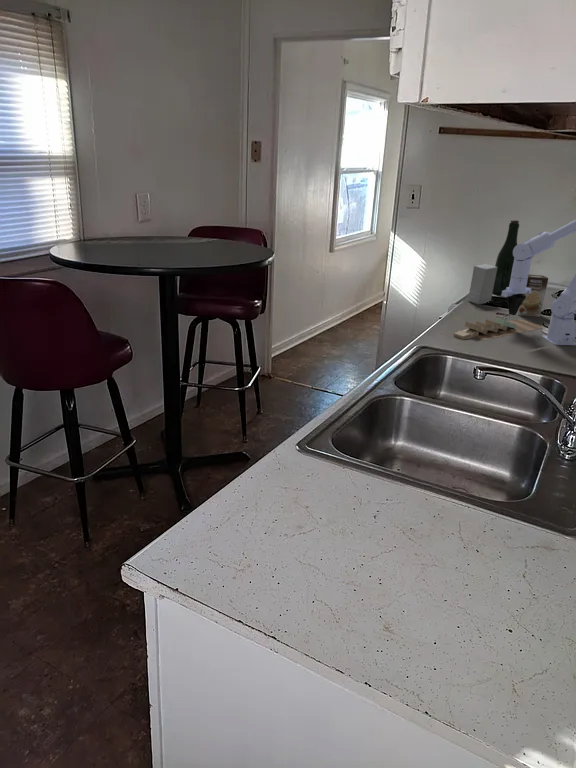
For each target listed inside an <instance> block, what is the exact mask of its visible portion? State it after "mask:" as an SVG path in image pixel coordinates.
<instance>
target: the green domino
mask: <svg viewBox="0 0 576 768" xmlns="http://www.w3.org/2000/svg"><path fill="white" fill-rule="evenodd" d="M493 322H496V323H499V324H502V325H505V326H508V327H510V328H514V329H515V328H516V324H513V323H510V322H507V320H504V319H501V318H497V317H495V318H494V321H493Z"/></svg>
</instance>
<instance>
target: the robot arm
mask: <svg viewBox="0 0 576 768" xmlns="http://www.w3.org/2000/svg"><path fill="white" fill-rule="evenodd" d="M574 233H576V219H574V220H572V221H570V222H568V223H567V224H565V225H563V226H562V227H559V228H558V229H556V230H554V231H552V232H549V231H540V232H538V233H537V235H536V236H534V237H532V238H527V239H525V242H524V243H523V242H519V243H517V246H515V247H514V249H513V256H514V263H513V268H512V274H511V279H510V284H509V287H507V288H506V290H504V291H502V294H501V295H500V296H501V297H503V298H504V297H505V299H506V301H507V307H508V315H510V316H516V313H517V311H518V309H519V307H520V305H521V304H522V302H523V301H524V300H525V299H526V296H524V295H523V294H526V293H528V294H530V293H531V289H532V288H528V287H526V285H527V280H528V275H529V274H530V269H531V263H532V259H533V258H534V257H535V256H536V255H538V254H541V253H543V252H545V251H548V250H549V249H552V248H553V247H554V246H555V244H556V242H557V241H559V240H561V239H563V238H566V237H568V236H570V235H572V234H574ZM550 311H551V314H550V321H549V323H548V324H549V325H548V330H547V335H542V337H543V338H544V339H546V340H547V341H549V342H551V343H552V344H553V345H555V346H576V342H575V340H576V322H575V312H576V273H575V275H574V276H573V277H572V280H571V281H570V282H569V284H568V285H567V287H566V288H565V289H564V290H563V291H562V292H561V293H560V295H559V296H558V297H557V298H556V299H554V300H553V301H552V302H551V304H550Z"/></svg>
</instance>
